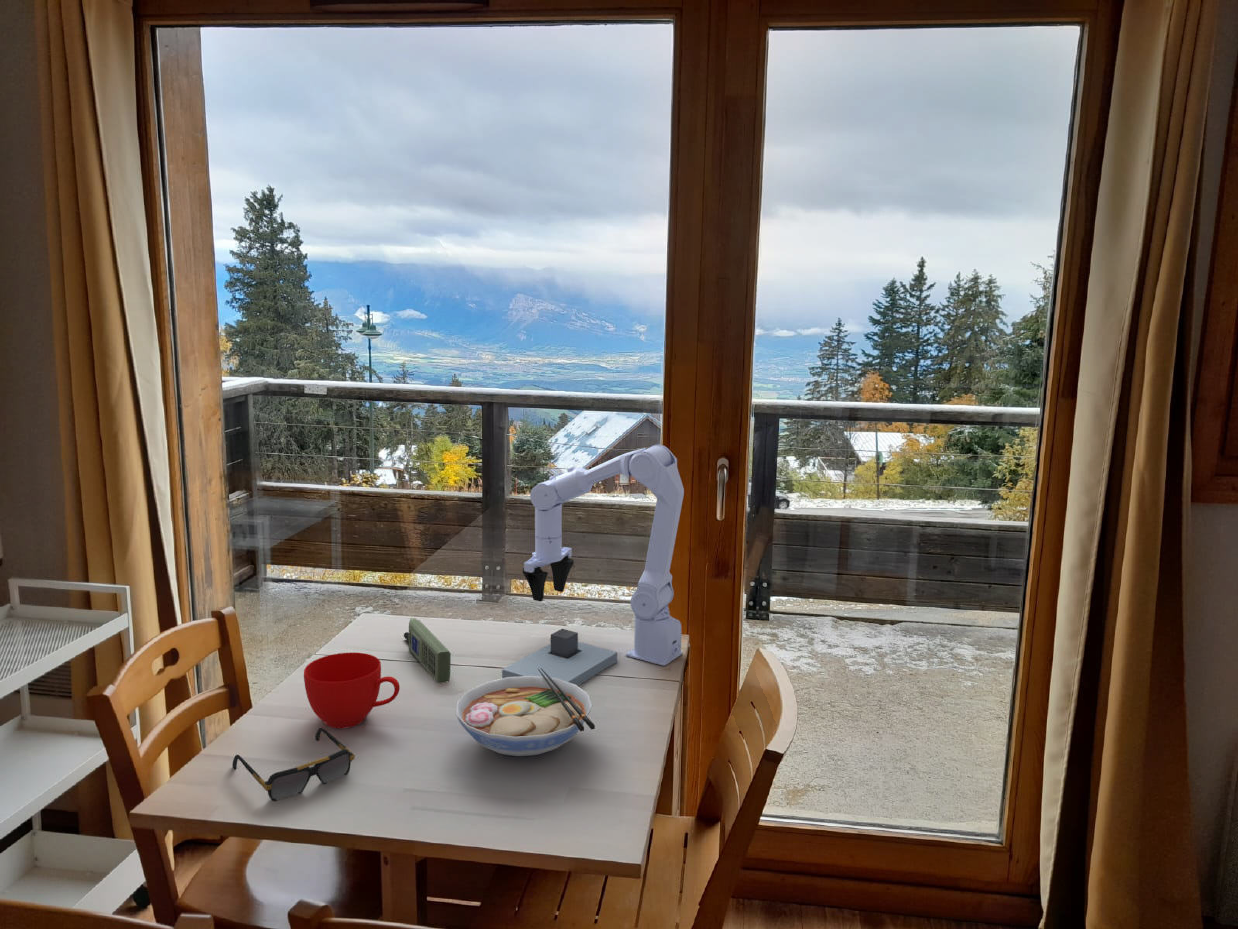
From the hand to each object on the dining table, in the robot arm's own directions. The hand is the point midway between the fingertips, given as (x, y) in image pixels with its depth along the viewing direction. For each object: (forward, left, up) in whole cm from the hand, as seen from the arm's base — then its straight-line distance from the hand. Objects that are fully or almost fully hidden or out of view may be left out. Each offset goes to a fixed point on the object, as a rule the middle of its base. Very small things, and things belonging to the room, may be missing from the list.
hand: (548, 595), depth 197 cm
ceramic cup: (+4, +51, -10) cm, 52 cm away
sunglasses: (-1, +68, -10) cm, 69 cm away
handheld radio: (+13, +25, -10) cm, 30 cm away
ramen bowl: (-26, +41, -10) cm, 49 cm away
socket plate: (-13, +13, -9) cm, 21 cm away
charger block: (-11, +9, -10) cm, 17 cm away
